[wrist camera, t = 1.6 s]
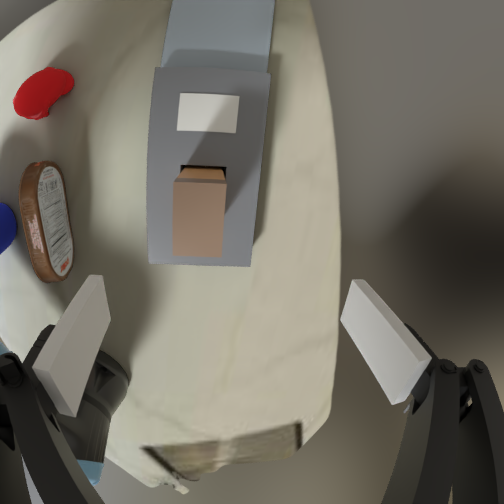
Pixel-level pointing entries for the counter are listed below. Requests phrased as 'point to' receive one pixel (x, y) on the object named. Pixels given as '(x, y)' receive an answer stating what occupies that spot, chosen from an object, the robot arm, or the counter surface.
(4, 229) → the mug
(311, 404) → the counter surface
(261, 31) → the mat
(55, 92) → the cap
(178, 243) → the plug
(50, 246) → the tin
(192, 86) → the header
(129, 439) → the counter surface
